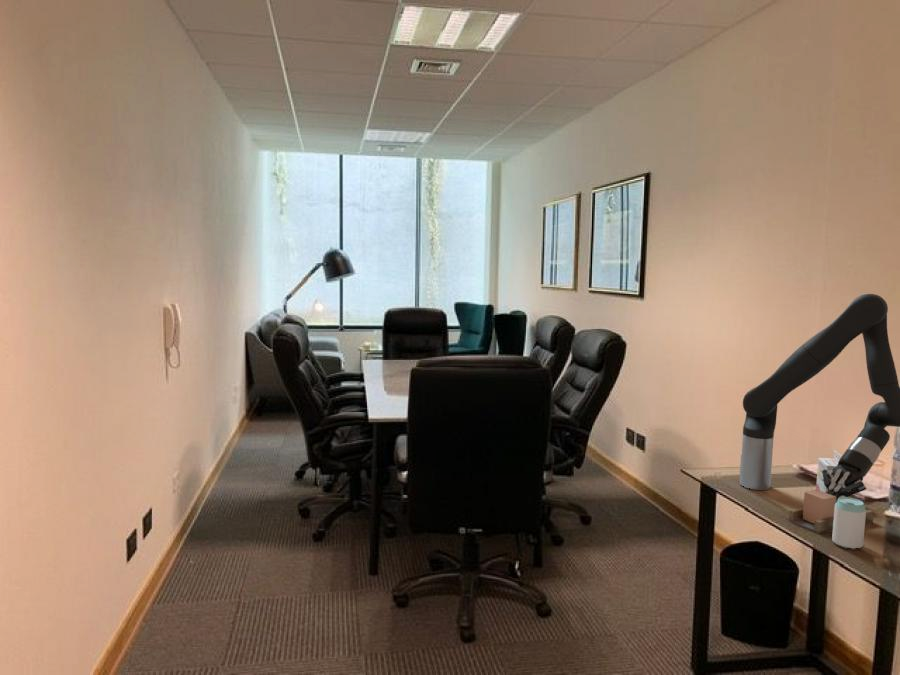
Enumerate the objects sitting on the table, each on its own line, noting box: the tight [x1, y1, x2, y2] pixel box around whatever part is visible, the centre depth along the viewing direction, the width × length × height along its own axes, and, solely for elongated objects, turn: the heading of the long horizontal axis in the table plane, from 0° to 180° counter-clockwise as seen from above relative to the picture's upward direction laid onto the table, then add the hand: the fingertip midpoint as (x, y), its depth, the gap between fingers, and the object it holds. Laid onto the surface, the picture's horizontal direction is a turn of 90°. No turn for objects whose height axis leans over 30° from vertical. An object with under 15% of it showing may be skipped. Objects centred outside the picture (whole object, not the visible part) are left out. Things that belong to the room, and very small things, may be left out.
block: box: [802, 489, 836, 524], centre depth 186 cm, size 5×6×8 cm
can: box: [831, 496, 867, 550], centre depth 173 cm, size 7×7×12 cm
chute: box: [788, 501, 875, 535], centre depth 189 cm, size 22×9×3 cm, turn 112°
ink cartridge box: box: [815, 449, 843, 501], centre depth 207 cm, size 9×5×15 cm, turn 168°
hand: (826, 503), depth 187 cm, fingers closed
